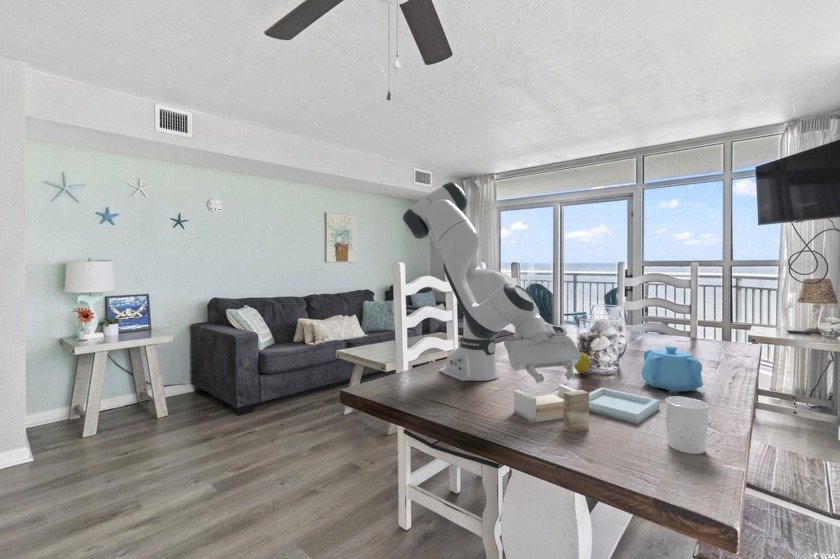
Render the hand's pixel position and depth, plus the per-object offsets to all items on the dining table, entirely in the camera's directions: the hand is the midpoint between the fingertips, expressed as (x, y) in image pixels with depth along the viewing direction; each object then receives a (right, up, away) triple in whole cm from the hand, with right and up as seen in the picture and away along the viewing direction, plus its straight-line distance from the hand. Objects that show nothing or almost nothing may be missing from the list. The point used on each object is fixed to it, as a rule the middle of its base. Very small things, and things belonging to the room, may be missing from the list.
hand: (556, 380), depth 103 cm
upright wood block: (+3, -11, -5) cm, 12 cm away
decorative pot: (+46, -10, +27) cm, 55 cm away
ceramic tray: (+20, -10, +9) cm, 24 cm away
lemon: (+25, -9, +45) cm, 52 cm away
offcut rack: (-1, -10, +5) cm, 11 cm away
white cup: (+23, -11, -16) cm, 30 cm away
